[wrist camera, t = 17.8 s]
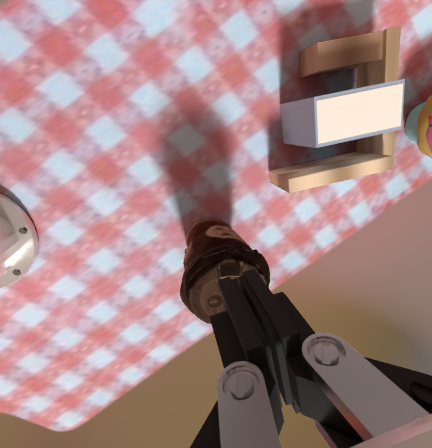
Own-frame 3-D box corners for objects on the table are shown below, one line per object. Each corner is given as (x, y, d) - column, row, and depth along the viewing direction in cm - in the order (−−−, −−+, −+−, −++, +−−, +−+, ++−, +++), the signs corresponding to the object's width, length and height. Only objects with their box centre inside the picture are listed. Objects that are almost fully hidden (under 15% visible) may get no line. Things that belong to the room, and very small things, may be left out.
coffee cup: (205, 195, 34) (226, 232, 22) (254, 231, 36) (296, 282, 24) (165, 247, 35) (163, 310, 23) (214, 278, 38) (235, 348, 26)
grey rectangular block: (283, 143, 33) (316, 148, 26) (279, 104, 32) (314, 96, 24) (350, 128, 34) (402, 129, 27) (350, 89, 32) (405, 78, 25)
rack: (270, 182, 35) (289, 193, 29) (256, 60, 30) (276, 45, 24) (367, 160, 36) (403, 167, 30) (369, 40, 31) (413, 20, 25)
